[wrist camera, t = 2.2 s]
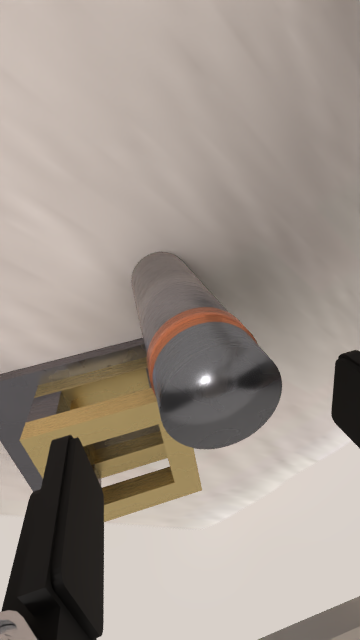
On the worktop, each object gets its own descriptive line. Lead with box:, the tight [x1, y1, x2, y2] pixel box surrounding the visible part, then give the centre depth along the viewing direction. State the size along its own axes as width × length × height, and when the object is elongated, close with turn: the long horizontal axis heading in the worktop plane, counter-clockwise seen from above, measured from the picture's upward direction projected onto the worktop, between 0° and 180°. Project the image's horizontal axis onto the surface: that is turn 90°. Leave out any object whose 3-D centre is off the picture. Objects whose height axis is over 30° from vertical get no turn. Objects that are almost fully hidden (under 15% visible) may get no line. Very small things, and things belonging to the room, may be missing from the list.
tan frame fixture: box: [0, 338, 202, 522], centre depth 24 cm, size 16×13×6 cm
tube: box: [131, 252, 282, 449], centre depth 16 cm, size 5×5×14 cm
